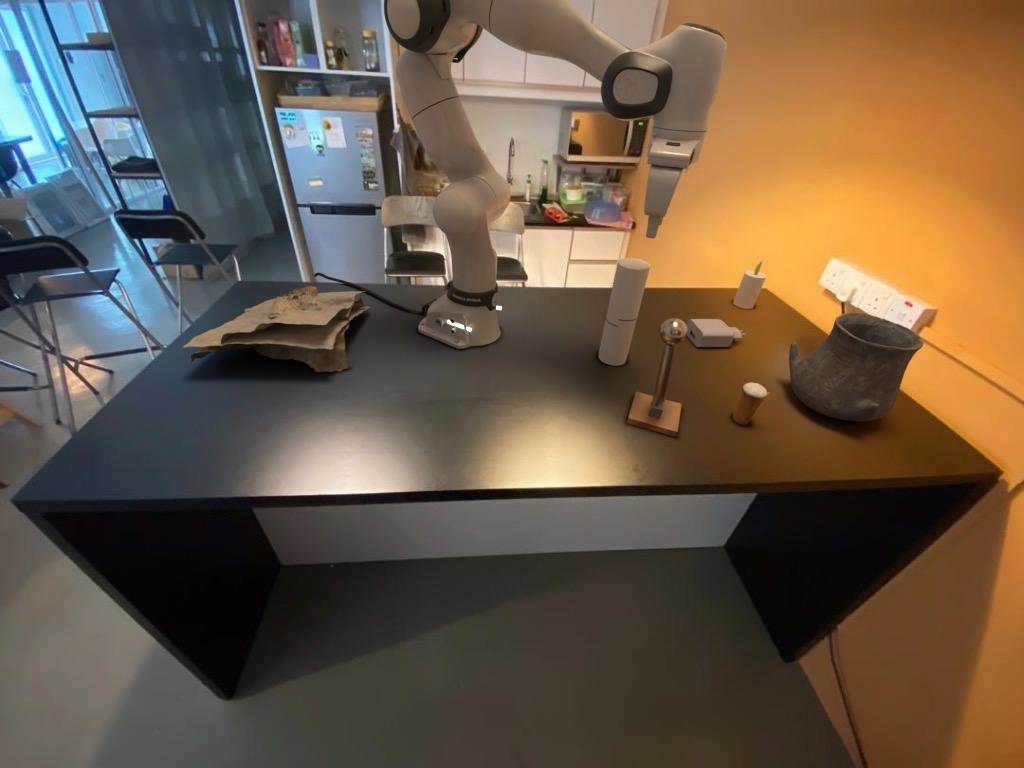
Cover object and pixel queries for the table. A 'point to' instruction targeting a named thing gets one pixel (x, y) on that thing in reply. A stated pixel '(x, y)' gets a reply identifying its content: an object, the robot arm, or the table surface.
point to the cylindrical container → (623, 310)
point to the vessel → (854, 368)
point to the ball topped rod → (668, 355)
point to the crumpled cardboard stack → (290, 329)
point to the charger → (711, 333)
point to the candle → (749, 288)
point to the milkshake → (749, 402)
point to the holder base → (655, 414)
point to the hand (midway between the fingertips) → (653, 230)
